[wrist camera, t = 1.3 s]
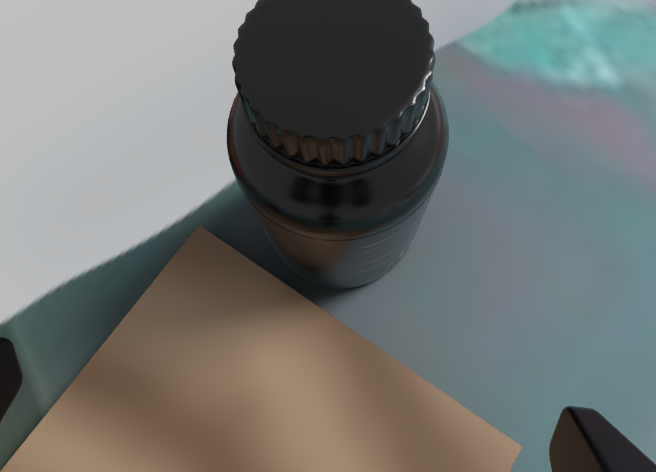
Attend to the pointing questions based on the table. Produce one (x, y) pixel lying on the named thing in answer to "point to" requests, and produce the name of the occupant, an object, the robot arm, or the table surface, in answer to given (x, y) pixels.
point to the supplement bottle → (337, 132)
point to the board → (250, 388)
